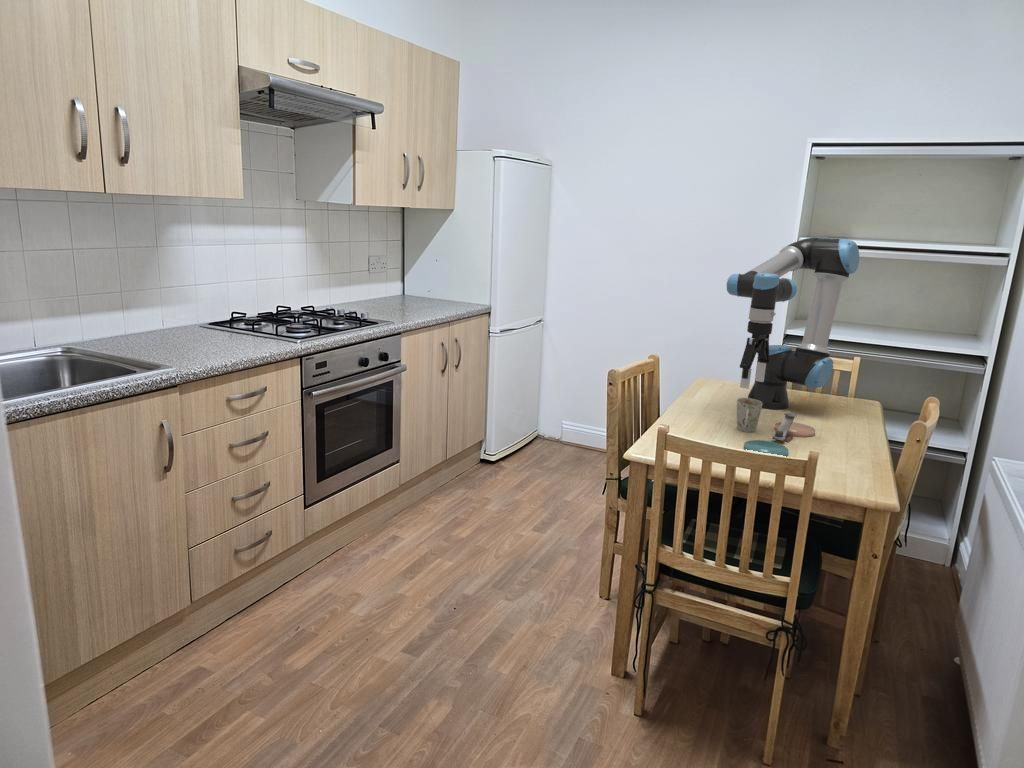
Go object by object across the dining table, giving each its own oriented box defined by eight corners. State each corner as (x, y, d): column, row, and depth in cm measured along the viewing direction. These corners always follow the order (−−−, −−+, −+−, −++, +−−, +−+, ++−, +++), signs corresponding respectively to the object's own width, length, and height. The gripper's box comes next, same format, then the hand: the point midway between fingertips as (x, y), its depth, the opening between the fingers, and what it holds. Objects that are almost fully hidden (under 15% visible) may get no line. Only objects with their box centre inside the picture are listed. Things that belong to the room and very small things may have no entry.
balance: (768, 441, 224) (771, 418, 222) (781, 432, 234) (785, 410, 232) (783, 445, 221) (787, 422, 219) (796, 436, 231) (800, 413, 229)
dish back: (768, 430, 236) (769, 427, 236) (781, 422, 246) (781, 419, 245) (808, 439, 228) (808, 436, 228) (819, 431, 238) (820, 427, 238)
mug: (758, 427, 239) (762, 399, 236) (758, 438, 227) (762, 409, 225) (733, 424, 241) (737, 396, 239) (732, 434, 230) (736, 405, 227)
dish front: (737, 450, 215) (737, 446, 214) (752, 440, 224) (753, 437, 224) (779, 461, 207) (780, 457, 206) (793, 450, 217) (794, 447, 216)
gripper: (758, 326, 213) (749, 393, 218) (784, 319, 232) (776, 380, 237) (734, 323, 218) (726, 388, 223) (762, 316, 237) (754, 376, 242)
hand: (752, 384), depth 230 cm, fingers open, 13 cm apart
